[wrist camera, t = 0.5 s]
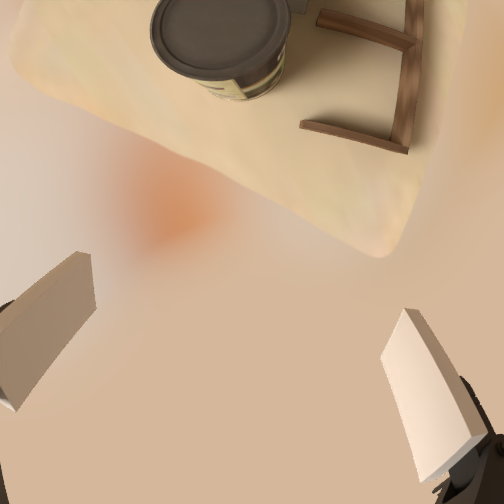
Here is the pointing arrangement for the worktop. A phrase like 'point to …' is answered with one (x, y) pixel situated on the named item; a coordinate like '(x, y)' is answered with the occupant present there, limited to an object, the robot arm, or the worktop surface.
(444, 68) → the worktop surface
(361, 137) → the comb rack
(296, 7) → the grey block
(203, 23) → the coffee can
